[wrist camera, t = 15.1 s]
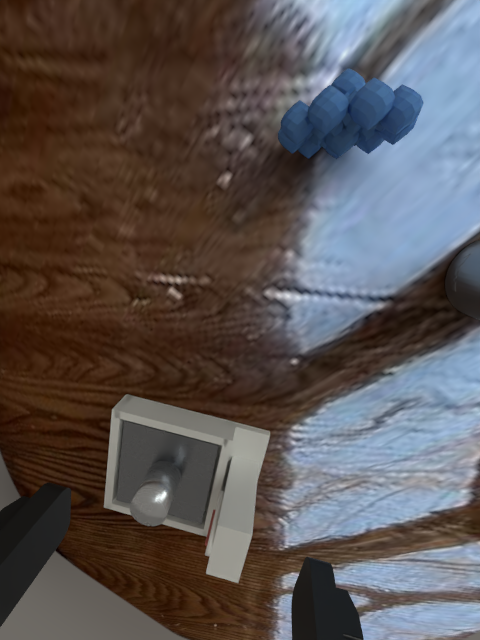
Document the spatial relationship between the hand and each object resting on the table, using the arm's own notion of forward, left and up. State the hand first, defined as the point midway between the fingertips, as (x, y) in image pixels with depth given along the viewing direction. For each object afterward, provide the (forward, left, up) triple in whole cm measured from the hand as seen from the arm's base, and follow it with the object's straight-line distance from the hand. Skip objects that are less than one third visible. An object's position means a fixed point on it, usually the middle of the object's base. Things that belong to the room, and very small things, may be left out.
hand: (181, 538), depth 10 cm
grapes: (-4, -21, -30) cm, 37 cm away
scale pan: (+7, +26, -28) cm, 39 cm away
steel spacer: (+7, +26, -26) cm, 38 cm away
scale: (+5, +26, -30) cm, 40 cm away
